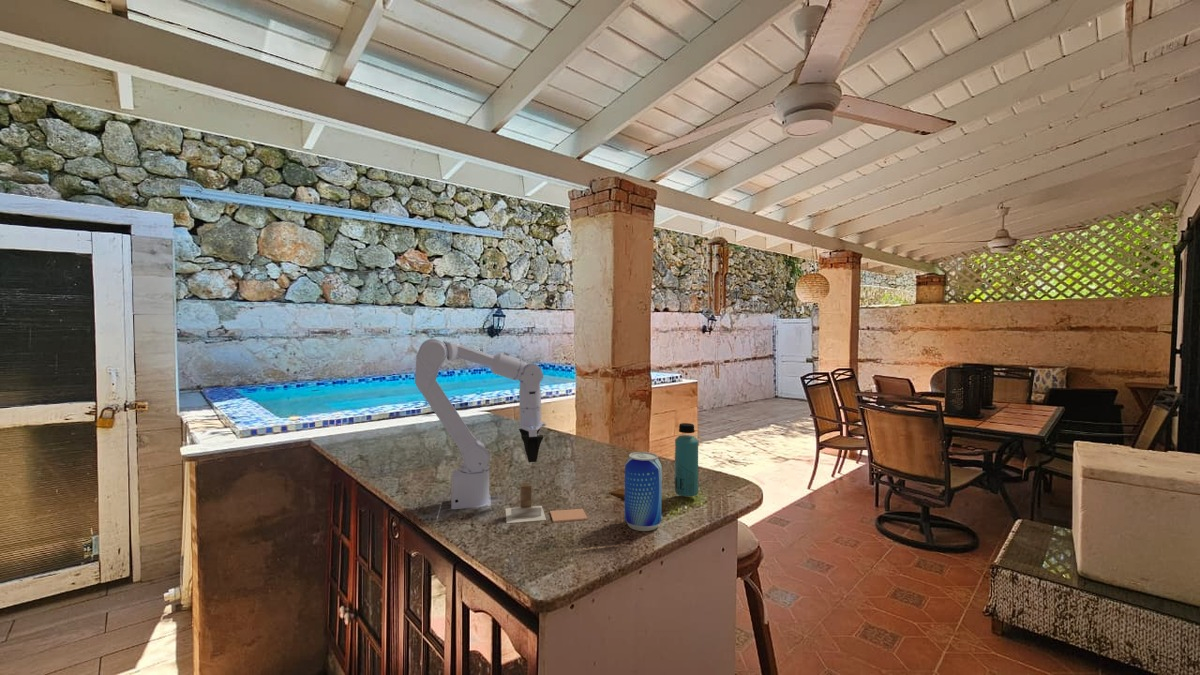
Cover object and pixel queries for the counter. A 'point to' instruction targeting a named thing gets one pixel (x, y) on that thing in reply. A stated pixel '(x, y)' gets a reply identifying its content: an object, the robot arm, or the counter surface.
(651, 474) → the beer can
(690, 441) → the beverage bottle
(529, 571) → the counter surface
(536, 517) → the mat
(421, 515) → the counter surface
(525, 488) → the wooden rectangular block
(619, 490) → the primitive tool
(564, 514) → the tile
